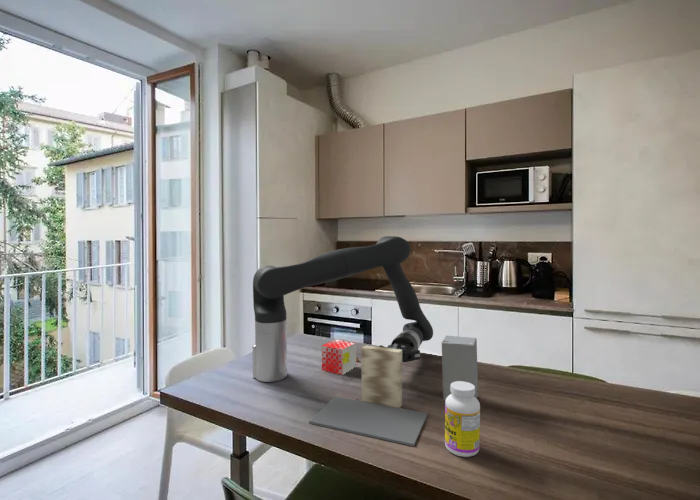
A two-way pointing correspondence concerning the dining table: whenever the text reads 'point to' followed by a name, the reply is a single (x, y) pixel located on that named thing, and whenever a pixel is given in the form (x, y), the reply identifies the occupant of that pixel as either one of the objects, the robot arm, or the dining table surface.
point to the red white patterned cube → (338, 356)
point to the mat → (371, 420)
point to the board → (382, 375)
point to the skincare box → (459, 362)
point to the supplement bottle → (462, 420)
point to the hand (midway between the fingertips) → (390, 361)
